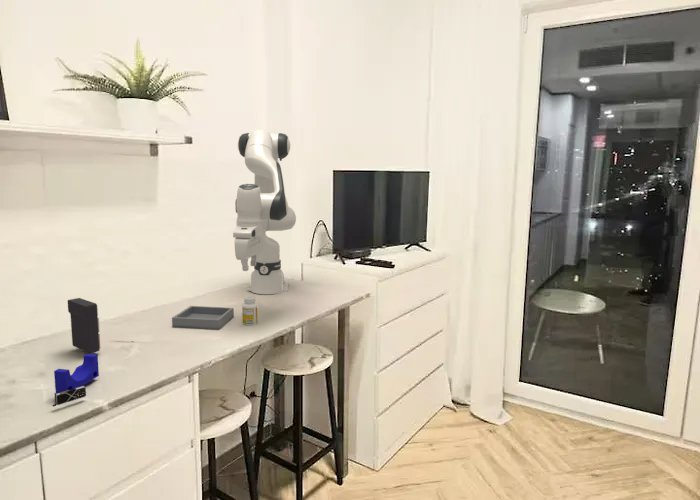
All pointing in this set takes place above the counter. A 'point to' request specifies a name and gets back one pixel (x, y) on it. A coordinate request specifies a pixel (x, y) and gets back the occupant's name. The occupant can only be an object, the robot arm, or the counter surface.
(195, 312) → the parts tray
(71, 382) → the cable clip
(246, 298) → the supplement bottle
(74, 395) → the graphics card
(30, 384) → the counter surface
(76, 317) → the calculator
